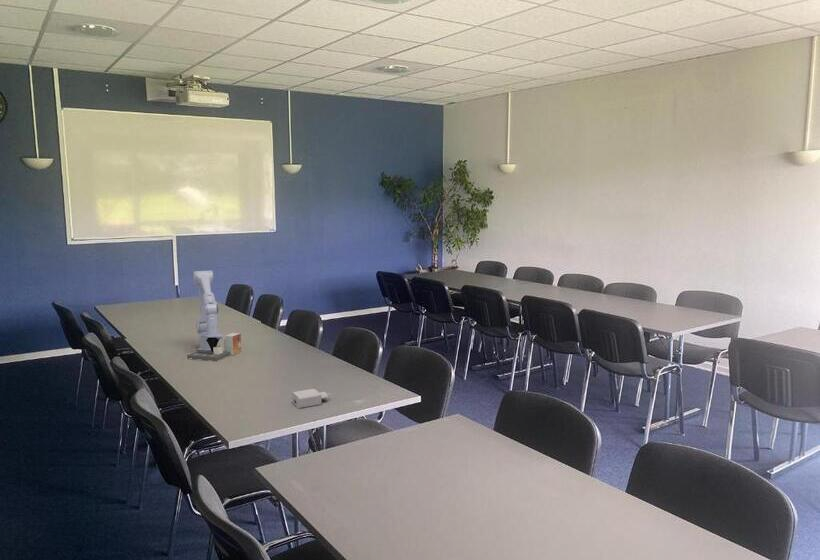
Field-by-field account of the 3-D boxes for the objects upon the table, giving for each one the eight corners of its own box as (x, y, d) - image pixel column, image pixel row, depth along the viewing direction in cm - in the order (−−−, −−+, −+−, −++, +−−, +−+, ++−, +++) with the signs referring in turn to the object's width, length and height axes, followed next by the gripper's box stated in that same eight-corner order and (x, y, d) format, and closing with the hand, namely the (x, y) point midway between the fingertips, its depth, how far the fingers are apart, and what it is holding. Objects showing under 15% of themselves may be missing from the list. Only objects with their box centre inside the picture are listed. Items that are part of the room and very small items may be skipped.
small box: (233, 355, 319) (232, 336, 317) (224, 354, 321) (223, 335, 319) (241, 352, 326) (241, 333, 325) (233, 351, 328) (232, 332, 327)
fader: (218, 352, 317) (217, 345, 316) (223, 352, 316) (222, 345, 315) (213, 354, 313) (213, 347, 312) (218, 354, 312) (218, 347, 311)
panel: (201, 353, 325) (201, 349, 324) (230, 355, 319) (230, 351, 319) (187, 358, 313) (187, 354, 313) (216, 361, 308) (216, 357, 308)
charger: (334, 402, 243) (299, 409, 236) (326, 396, 251) (292, 402, 244) (334, 391, 243) (298, 397, 236) (326, 385, 251) (291, 391, 244)
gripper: (195, 327, 312) (197, 352, 313) (219, 328, 307) (220, 354, 309) (204, 324, 318) (205, 349, 320) (227, 325, 314) (228, 351, 316)
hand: (213, 351), depth 315 cm, fingers closed
